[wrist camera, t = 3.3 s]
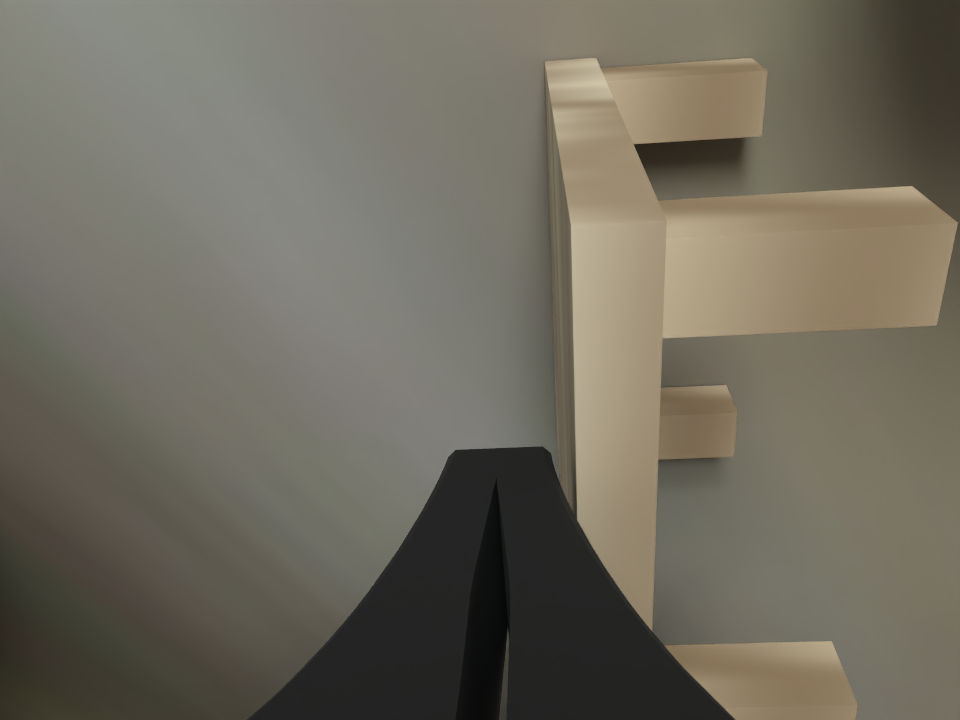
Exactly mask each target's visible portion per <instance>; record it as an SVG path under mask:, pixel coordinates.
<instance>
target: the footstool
mask: <svg viewBox="0 0 960 720" xmlns="http://www.w3.org/2000/svg"><path fill="white" fill-rule="evenodd" d="M544 62H545V92H546V122H547V151H548V181H549V211H550V241H551V271H552V300H553V330H554V360H555V390H556V420H557V445H558V458H559V471H560V484H561V487H562V490H563V492H564V494H565V496H566V498H567V501H568V503H569V505H570V507H571V509H572V511H573V513H574V515H575V517H576V519H577V521H578V522H579V524H580V526H581V528H582V529H583V531H584V533H585V535H586V537H587V538H588V540H589V542H590V544H591V545H592V547H593V549H594V550H595V552H596V554H597V555H598V557H599V558H600V560H601V562H602V563H603V565H604V566H605V568H606V569H607V571H608V572H609V574H610V575H611V577H612V578H613V580H614V581H615V583H616V584H617V586H618V587H619V589H620V590H621V591H622V593H623V594H624V596H625V597H626V598H627V600H628V601H629V603H630V604H631V605H632V607H633V608H634V609H635V611H636V612H637V613H638V614H639V616H640V617H641V618H642V619H643V621H644V622H645V623H646V624H647V626H648V627H649V628H650V629H651V631H652V621H653V593H654V565H655V537H656V508H657V480H658V460H661V459H687V458H714V457H734V449H735V437H736V426H737V414H738V413H737V410H736V408H735V405H734V403H733V400H732V398H731V396H730V393H729V391H728V388H727V386H726V385H716V386H693V387H670V388H661V367H662V339H663V338H681V337H702V336H724V335H745V334H766V333H788V332H809V331H831V330H852V329H874V328H895V327H917V326H937V321H938V317H939V312H940V307H941V302H942V297H943V292H944V288H945V283H946V278H947V273H948V268H949V264H950V259H951V254H952V249H953V244H954V239H955V235H956V230H957V225H958V222H956V221H955V220H954V219H953V218H951V217H950V216H949V215H948V214H946V213H945V212H944V211H943V210H941V209H940V208H939V207H938V206H936V205H935V204H934V203H933V202H931V201H930V200H929V199H928V198H926V197H925V196H924V195H923V194H921V193H920V192H919V191H917V190H916V189H915V188H914V187H912V186H905V187H887V188H870V189H852V190H834V191H817V192H799V193H781V194H764V195H746V196H728V197H711V198H693V199H675V200H658V199H657V197H656V195H655V193H654V190H653V188H652V186H651V183H650V181H649V179H648V176H647V174H646V172H645V170H644V167H643V165H642V163H641V160H640V158H639V156H638V153H637V151H636V149H635V147H634V144H643V143H660V142H676V141H693V140H709V139H725V138H742V137H758V136H762V128H763V116H764V105H765V93H766V82H767V70H766V69H765V68H764V67H762V66H761V65H760V64H759V63H757V62H756V61H755V60H754V59H752V58H744V59H729V60H714V61H699V62H684V63H669V64H654V65H639V66H624V67H609V68H600V66H599V64H598V61H597V59H596V58H584V59H570V60H555V61H544ZM664 646H665V647H666V648H667V649H668V651H669V652H670V653H671V654H672V655H673V656H674V657H675V659H676V660H677V661H678V662H679V663H680V664H681V665H682V666H683V668H684V669H685V670H686V671H687V672H688V673H689V674H690V675H691V676H692V677H693V678H694V679H695V680H696V681H697V682H698V683H699V684H700V685H701V686H702V687H703V688H704V689H705V690H706V691H707V692H708V693H709V694H710V695H711V696H712V697H713V698H714V699H715V700H716V701H717V702H718V703H719V704H720V705H721V706H722V707H723V708H724V709H725V710H726V711H727V712H728V713H729V714H730V715H731V716H732V717H733V718H734V719H736V720H855V716H856V711H857V707H858V704H857V702H856V699H855V697H854V695H853V692H852V690H851V687H850V685H849V682H848V680H847V677H846V675H845V673H844V670H843V668H842V665H841V663H840V660H839V658H838V656H837V653H836V651H835V648H834V646H833V643H832V641H821V642H780V643H739V644H698V645H664Z"/></svg>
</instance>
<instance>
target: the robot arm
mask: <svg viewBox="0 0 960 720" xmlns="http://www.w3.org/2000/svg"><path fill="white" fill-rule="evenodd" d="M507 629H508V631H509V670H508V699H507V720H736V719H734V718H733V717H732V716H731V715H730V714H729V713H728V712H727V711H726V710H725V709H724V708H723V707H722V706H721V705H720V704H719V703H718V702H717V701H716V700H715V699H714V698H713V697H712V696H711V695H710V694H709V693H708V692H707V691H706V690H705V689H704V688H703V687H702V686H701V685H700V684H699V683H698V682H697V681H696V680H695V679H694V678H693V677H692V676H691V675H690V674H689V673H688V672H687V671H686V670H685V669H684V668H683V666H682V665H681V664H680V663H679V662H678V661H677V660H676V659H675V657H674V656H673V655H672V654H671V653H670V652H669V651H668V649H667V648H666V647H665V646H664V645H663V644H662V643H661V641H660V640H659V639H658V638H657V637H656V636H655V634H654V633H653V632H652V631H651V629H650V628H649V627H648V626H647V624H646V623H645V622H644V621H643V619H642V618H641V617H640V616H639V614H638V613H637V612H636V611H635V609H634V608H633V607H632V605H631V604H630V603H629V601H628V600H627V598H626V597H625V596H624V594H623V593H622V591H621V590H620V589H619V587H618V586H617V584H616V583H615V581H614V580H613V578H612V577H611V575H610V574H609V572H608V571H607V569H606V568H605V566H604V565H603V563H602V562H601V560H600V558H599V557H598V555H597V554H596V552H595V550H594V549H593V547H592V545H591V544H590V542H589V540H588V538H587V537H586V535H585V533H584V531H583V529H582V528H581V526H580V524H579V522H578V521H577V519H576V517H575V515H574V513H573V511H572V509H571V507H570V505H569V503H568V501H567V498H566V496H565V494H564V492H563V490H562V487H561V485H560V482H559V480H558V477H557V475H556V472H555V469H554V465H553V462H552V457H551V453H550V452H549V451H547V450H546V449H545V448H544V447H519V448H494V449H468V450H455V451H454V452H453V453H452V454H451V455H450V456H449V457H448V459H447V462H446V464H445V467H444V469H443V471H442V473H441V476H440V478H439V480H438V482H437V484H436V486H435V488H434V490H433V492H432V494H431V495H430V497H429V499H428V501H427V503H426V505H425V506H424V508H423V510H422V512H421V514H420V515H419V517H418V518H417V520H416V522H415V523H414V525H413V527H412V528H411V530H410V532H409V533H408V535H407V537H406V538H405V540H404V541H403V543H402V545H401V546H400V548H399V549H398V551H397V552H396V554H395V555H394V557H393V558H392V560H391V561H390V562H389V564H388V565H387V567H386V568H385V569H384V571H383V572H382V574H381V575H380V576H379V578H378V579H377V581H376V582H375V584H374V585H373V586H372V588H371V589H370V591H369V592H368V593H367V595H366V596H365V597H364V598H363V600H362V601H361V602H360V603H359V605H358V606H357V607H356V609H355V610H354V611H353V612H352V613H351V615H350V616H349V617H348V618H347V620H346V621H345V622H344V623H343V624H342V625H341V627H340V628H339V629H338V630H337V631H336V632H335V634H334V635H333V636H332V637H331V638H330V639H329V640H328V642H327V643H326V644H325V645H324V646H323V647H322V648H321V649H320V650H319V651H318V652H317V653H316V654H315V655H314V656H313V657H312V658H311V660H310V661H309V662H308V663H307V664H306V665H305V666H304V667H303V668H302V669H301V670H300V671H299V672H298V673H297V674H296V675H295V676H294V677H293V678H292V679H291V680H290V681H289V682H288V683H287V684H286V685H285V686H284V687H283V688H282V689H281V690H280V691H279V692H278V693H277V694H276V695H275V696H274V697H272V698H271V699H270V700H269V701H268V702H267V703H266V704H265V705H263V706H262V707H261V708H260V709H259V710H258V711H257V712H255V713H254V714H253V715H252V716H251V717H250V718H248V719H247V720H499V711H500V701H501V691H502V681H503V671H504V660H505V650H506V640H507Z"/></svg>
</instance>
